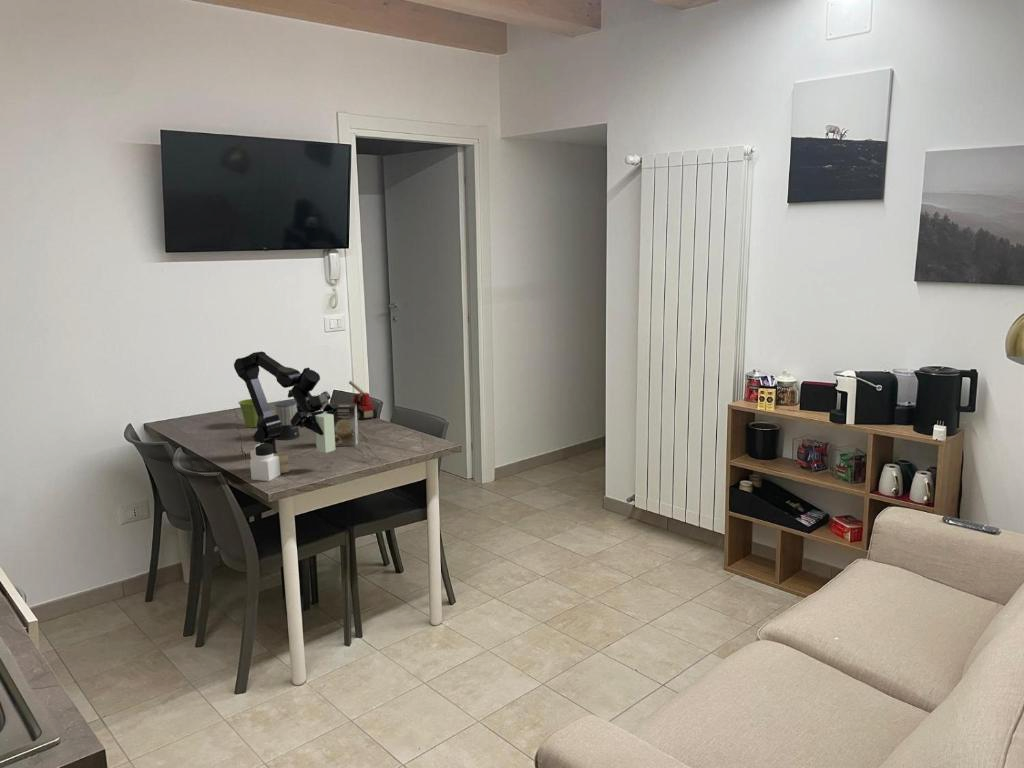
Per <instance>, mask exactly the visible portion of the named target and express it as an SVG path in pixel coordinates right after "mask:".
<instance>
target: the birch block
mask: <svg viewBox="0 0 1024 768" xmlns="http://www.w3.org/2000/svg"><path fill="white" fill-rule="evenodd" d="M273 456H279V462H280V474H284V473H288V472H290V463H289V455H288V454H287V453H286V452H277V453H276V454H274V455H273Z"/></svg>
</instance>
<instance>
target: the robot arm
mask: <svg viewBox="0 0 1024 768" xmlns="http://www.w3.org/2000/svg"><path fill="white" fill-rule="evenodd" d="M260 367H261V368H262V369H263V370H264V371H266V372H268V373H269V374H270V375H272V376H274V377H275V378H276V382H277V383H278V384H279V385H280V386H281V387H282V388H285V389H286V388H290V387H291V389H289V390H288V393H287V398H288V399H289V398H293V399H294V401H296V402H297V403H298V405H299V406H298V407H297V408H298V409H299V410H300V409H302V411H300V412H298V411H297V412H296V413H295V415H294V416H293V418H292V419H291V424H292V426H293V427H297V426H298V427H299V426H300V424H301V422H300V421H302V423H303V424H302V427H301V428H306V429H308V430H311V431H312V432H314V433H315V434H316V433H318V434H320V435H323V432H322V430H321V428H320V427H319V425H318V423H317V422H316V419H315V415H319V414H323V413H327V414H333V415H334V414H335V412H336V411H337V410H338V409H339V407H338V405H337V404H338V403H337V402H331V403H329V400H331V395H330V393H329V392H328V391H327V390H326V391H323V392H321V393H320V394H317V395H312V394H311V392H312V391H313V390H314V389H315V387H316V386H317V384H318V383H319V382H320V380H321V376H320V374H319V373H318V372H316V370H313V369H310V367H305V368H304V369H303V370H302V372H301V371H299V370H298V369H296V368H293V367H289V366H288V367H287V366H284V365H283V364H281V363H279V362H278V361H277V360H275V359H274V358H272V357H271V356H269V355H267V353H266V352H265V351H255V352H252V353H250V354H249V355H247V356H244V357H238V358H236V359H235V361H234V363H233V368H234V370H235V372H236V374H237V376H238V378H240V379H242V381H244V382H245V385H246V388H247V390H248V394H249V395H250V396H249V397H250V399H252V402H253V404H254V407H255V410H256V412H257V415H258V420H257V427H256V428H257V430H256V431H255V433H254V434H253V436H252V437H253V440H254V441H253V442H255V443H256V442H257V443H259V444H261V443H270V444H272V445H273V454H276V453H278V450H277V445H276V439H277V438H280V436H281V431H282V426H281V424H282V423H281V422H280V419H279V416H278V415H276V414H275V413H273V412H272V411H271V409H270V406H269V402H268V400H267V398H266V395H265V393H264V389H263V388H262V383H261V382H260V379H259V373H260ZM325 403H327V404H326V405H325ZM324 405H325V406H324ZM322 408H323V409H322Z"/></svg>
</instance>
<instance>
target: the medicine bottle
mask: <svg viewBox="0 0 1024 768" xmlns="http://www.w3.org/2000/svg"><path fill="white" fill-rule="evenodd" d="M254 449H255V457H256V458H254V459H252V460H251V459H250V460H249V465H250V475H251V480H252V481H263V482H270V481H273V480H274V479H276V478H278V477H280V476H281V473H280V462H279V456H273V455H274V454H273V445H272V444H270V443H261V444H260V443H258V444H256V445H255V446H254Z"/></svg>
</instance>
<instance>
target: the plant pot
mask: <svg viewBox="0 0 1024 768" xmlns="http://www.w3.org/2000/svg"><path fill="white" fill-rule="evenodd" d="M237 403H238V405H239V406H240V409H241V413H242V416H243V419H244V420H243V421H244V425H245V427H246V428H249V429H251V428H257V420H258V415H257V412H256V410H255V407H254V404H253V402H252V399H251V398H248V399H247V398H246V399H244V400H243V399H241V400H239V401H238V402H237Z"/></svg>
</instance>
